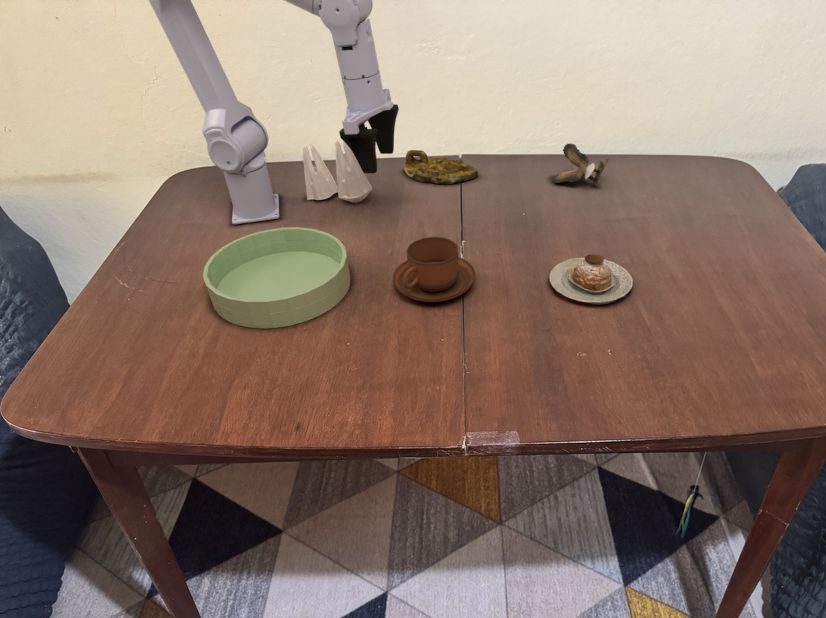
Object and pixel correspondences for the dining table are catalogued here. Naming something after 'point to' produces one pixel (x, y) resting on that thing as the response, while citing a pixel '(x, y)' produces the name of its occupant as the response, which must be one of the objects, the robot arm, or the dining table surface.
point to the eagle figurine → (579, 166)
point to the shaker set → (348, 176)
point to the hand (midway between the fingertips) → (378, 162)
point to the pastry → (591, 280)
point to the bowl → (277, 277)
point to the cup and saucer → (433, 271)
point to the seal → (437, 169)
